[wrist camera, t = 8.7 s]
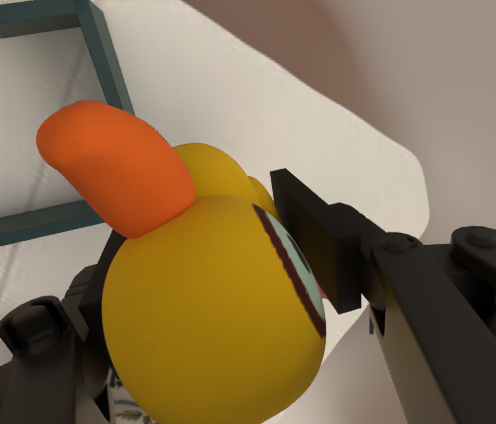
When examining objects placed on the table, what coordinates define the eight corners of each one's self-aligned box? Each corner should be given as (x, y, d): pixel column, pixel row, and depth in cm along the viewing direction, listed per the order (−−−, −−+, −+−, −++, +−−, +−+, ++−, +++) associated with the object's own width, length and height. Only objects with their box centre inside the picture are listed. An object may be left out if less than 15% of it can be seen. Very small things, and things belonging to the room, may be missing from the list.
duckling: (75, 123, 12) (-286, 273, 3) (197, 57, 12) (253, -22, 3) (214, 310, 17) (253, 579, 8) (299, 265, 17) (438, 482, 8)
